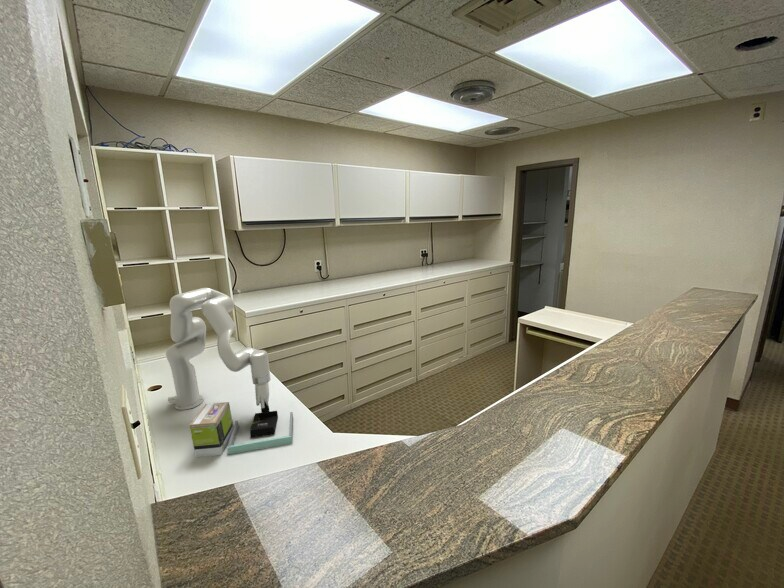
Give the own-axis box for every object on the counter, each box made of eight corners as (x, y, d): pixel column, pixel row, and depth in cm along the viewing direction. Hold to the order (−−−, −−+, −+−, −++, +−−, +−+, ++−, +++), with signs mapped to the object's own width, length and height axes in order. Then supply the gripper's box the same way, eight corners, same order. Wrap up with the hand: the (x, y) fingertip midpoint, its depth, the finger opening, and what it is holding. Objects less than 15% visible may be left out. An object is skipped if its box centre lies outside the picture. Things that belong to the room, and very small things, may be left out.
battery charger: (274, 435, 148) (273, 427, 147) (250, 438, 147) (249, 430, 146) (278, 418, 161) (277, 410, 160) (256, 421, 159) (254, 413, 158)
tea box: (210, 434, 150) (205, 402, 147) (235, 432, 151) (230, 400, 147) (194, 458, 136) (188, 424, 132) (221, 455, 136) (216, 421, 133)
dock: (228, 454, 137) (227, 447, 136) (236, 426, 154) (235, 420, 154) (292, 443, 143) (291, 436, 142) (293, 417, 160) (292, 411, 159)
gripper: (254, 371, 163) (258, 407, 167) (250, 387, 149) (255, 425, 153) (271, 369, 165) (275, 404, 169) (268, 384, 151) (273, 422, 155)
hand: (265, 414), depth 161 cm, fingers closed
